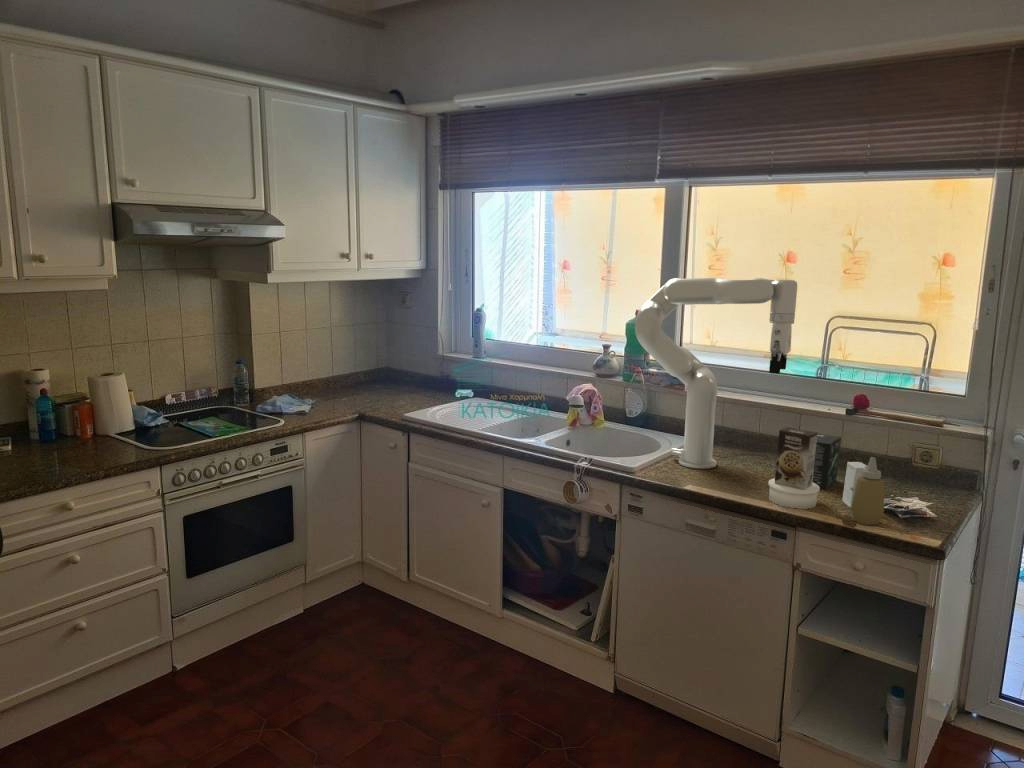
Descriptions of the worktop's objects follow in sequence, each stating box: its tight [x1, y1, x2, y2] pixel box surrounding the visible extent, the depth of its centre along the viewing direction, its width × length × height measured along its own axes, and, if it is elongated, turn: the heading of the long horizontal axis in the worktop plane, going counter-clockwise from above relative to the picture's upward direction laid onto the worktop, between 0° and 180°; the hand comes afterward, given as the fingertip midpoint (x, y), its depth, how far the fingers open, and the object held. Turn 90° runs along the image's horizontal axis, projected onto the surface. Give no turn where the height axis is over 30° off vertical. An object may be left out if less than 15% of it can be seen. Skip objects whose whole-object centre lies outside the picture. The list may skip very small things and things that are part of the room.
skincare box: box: [842, 461, 868, 509], centre depth 214 cm, size 6×4×12 cm
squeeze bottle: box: [851, 456, 885, 526], centre depth 200 cm, size 8×8×18 cm
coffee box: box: [774, 426, 819, 490], centre depth 215 cm, size 9×6×16 cm
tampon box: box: [812, 432, 842, 490], centre depth 234 cm, size 11×9×15 cm
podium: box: [767, 477, 821, 510], centre depth 217 cm, size 14×14×5 cm
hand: (777, 371), depth 242 cm, fingers open, 9 cm apart
